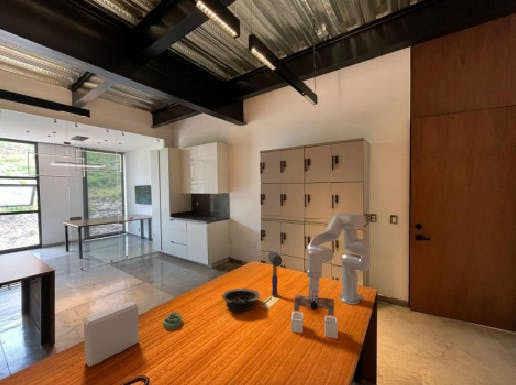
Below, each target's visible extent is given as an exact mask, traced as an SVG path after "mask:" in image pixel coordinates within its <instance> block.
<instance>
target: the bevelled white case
mask: <svg viewBox="0 0 516 385" xmlns="http://www.w3.org/2000/svg"><path fill="white" fill-rule="evenodd" d="M139 323H140V322H139V305H138V304H137V303H136V302H135V301H132V300H131V301H129V302H127V303H123V304H121V305H118V306H115V307H113V308H109V309H107V310H104V311H102V312H99V313H97V314H94V315H91V316H89V317H86V319H85V320H84V321H83V331H84V332H83V335H84V339H83V340H84V361H85V363H86V365H87V366H88V367H90V366H91V365H94V364H96V365H97V363H98V364H100V363H102V362H103V360H104V361H106V360H108V359H110V358H112V357H113V355H114V356H115V354H116V355H118V354H119V353H121V352H123V351H125V350H127V349H129V348H131V347H133V346H135V345H137V344H139V342H140V331H139ZM111 356H112V357H111ZM109 357H110V358H109ZM107 358H108V359H107ZM105 359H106V360H105ZM101 361H102V362H101ZM99 362H100V363H99ZM94 366H95V365H94Z"/></svg>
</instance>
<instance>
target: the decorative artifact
mask: <svg viewBox="0 0 516 385" xmlns="http://www.w3.org/2000/svg"><path fill="white" fill-rule="evenodd" d="M162 323H163V328H164V329H165V328H166V330H175V329H177V327H178V328H180V327H181V326H182V325H183V316H182V315H181V314H180V313H179V312H176V311H175V312H174V311H172V312H170V314H168V315H166V316H165V317H164V319H163V322H162ZM181 324H182V325H181ZM180 325H181V326H180Z"/></svg>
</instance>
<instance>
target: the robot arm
mask: <svg viewBox="0 0 516 385" xmlns="http://www.w3.org/2000/svg"><path fill="white" fill-rule="evenodd" d="M365 223H366V218H365V216H364V215H363V214H360V213H353V212H339V213H334V214H333V216H332V217H331V219H330V220H329V223H328V225H327V226H326V228H325V230H324V231H321V232H319V233H318V234H316V235H315V236H314V237H313V238H312V239H311V240H310V242H309V244H308V245H307V250H306V255H307V256H306V257H307V258H306V259H307V260H306V261H307V262H306V263H307V264H306V277H307V278H308V296H309V297H311V307H310V310H312V311H317V310H318V308H317V298H318V297H319V292H320V279H322V277H323V276H322V275H323V263H329V262H331V261H332V260H333V258H334V251H333V250H332V248H329V247H326V246H325V247H324V246H321V245H322V244H324V243H329V242H332V241H337V240H338V239H340V236H341V235H342V233H343V237H342V239H343V248H344V249H343V250H345V251H347V252H344V253H343V254H341V257H340V261H341V267H342V270H341V272H342V274H341V275H342V278H341V280H342V282H341V288H342V289H341V294H339V300H340V301H341V302H342V303H344V304H347V305H358V304H359V303H360V302H361V301H360V300H366V296H364V295H362V294H358V280H359V278H358V272H357V271H361V272H367V271H369V269H370V265H371V263H370V261H371V260H370V259H371V256H370V255H371V254H370V253H371V247H370V243H369V241H367V239H363V238H359V237H358V229H361V228H363V227H364V226H365ZM312 298H313V299H312ZM315 298H316V299H315Z"/></svg>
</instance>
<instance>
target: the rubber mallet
mask: <svg viewBox="0 0 516 385" xmlns="http://www.w3.org/2000/svg"><path fill="white" fill-rule="evenodd" d="M267 258H268V261H270V263H271V264H272V276H271V277H272V278H271V280H272V281H271V283H272V288H271V290H272V291H271V294H272V296H273V297H277V295H278V275H277V274H278V273H277V272H278V270H277V269H278V268H277V267H278V266H279V267H280V265H281V264H283V259H282V257H281V256H280V254H279V253H277V252H276V251H274V250H273V251H272V250H271V251H269V253H268V255H267Z"/></svg>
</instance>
